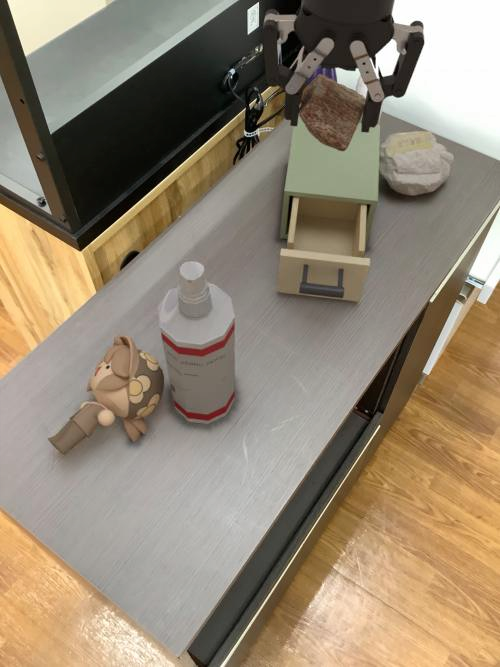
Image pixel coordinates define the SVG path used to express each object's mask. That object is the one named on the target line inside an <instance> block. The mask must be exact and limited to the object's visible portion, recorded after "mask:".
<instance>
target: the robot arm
mask: <svg viewBox="0 0 500 667" xmlns="http://www.w3.org/2000/svg"><path fill="white" fill-rule="evenodd" d="M395 1H396V0H301V4H300V6H299V8H298V10H296V12H295V14H280V12H279V11H278V10H276V9H275V8H270V9H268V10H267V11H266V12H265V15H264V21H263V25H262V26H263V27H262V42H263V43H262V44H263V55H264V56H263V58H264V70H265V71H264V72H265V82H266V85H267V86H268V87H271V88H275V87H276V88H277V87H280V88H282V89H283V90H284V93H285V95H284V98H285V99H284V110H283V116H284V119H285V120H286V121H290V124H289V126H290V127H293V126H297V124H298V117H300V114H299V108H300V107H301V97H302V86H303V85H304V84H305V83H306V80H307V79H309V78H310V77H311V76H312V74H313V73H314V72H315V70H316V69H317V68H318V66H319V65H320V66H321V68H323V69H333V68H335V69H341V70H344V71H346V72H348V71H349V72H356V70H357V69H358V71H359V74H360V75H361V77H362V79H363V82H364V84H366V86H367V89H368V90H367V95H366V100H365V105H364V110H363V115H362V124H361V132H366V133H369V129H370V127H373V128H375V126H376V125H377V124H378V119H379V115H380V110H381V106H382V102H383V103H384V100H385V99H387V98H389V97H394V98H396V99H400V98H403V97H404V96H405V95H406V94H407V91H408V88H409V85H410V82H411V80H412V77H413V75H414V72H415V70H416V67H417V65H418V62H419V59H420V57H421V54H422V52H423V49H424V46H425V28H424V27H425V26H424V23H423V22H422V21H421V20H414V21H412V22H411V23H410V24H408V25H407V24H403V23H397V22H395V20H394V17H393V11H394V5H395V3H396V2H395ZM291 32H294V33H295V35H296V36H297V38H298V40H299V41H300V43H301V45H302V47H301V49H300V50H299V52H298V54H297V57H296V58H295V60H294V61H293V63H292V64H291V66H289V67H287V66H285V65H283V64H282V62H283V61H282V44H284V43H286V42H287V40H288V35H289V34H290V33H291ZM392 40H393V41H395V43H396V52H397V53H398V58H397V60H396V62H395V66H394V69H393V71H392V74H390V75H384V73H383V71H382V69H381V66H380V62H379V56H378V53H380V52H381V51H382V49H384V48H385V47H386V46H387V45H388V44H389V43H390V42H391V41H392Z"/></svg>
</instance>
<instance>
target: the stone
mask: <svg viewBox="0 0 500 667" xmlns="http://www.w3.org/2000/svg"><path fill="white" fill-rule="evenodd" d="M365 100H366V99H365V97H363V95H360V94H358V93H357V92H356V90H355V89H352V88H350V87H347V86H346V85H345V84H342V83H339V82H338V81H337V82H336V81H335V80H333V79H331V78H328V77H326V76H324V75H321V74H319V75H318V76H317V77H316V78H315V79H314V80H313V81H312V82H311V83H310V84H309V85H306V87H305V88H303V90H302V93H301V99H300V106H299V117H301V119H302V121H303V122H304V124H305V126H306V128H307V129H308V131H309V132H310V133H311V134H312V135H313V136H314V137H315V138H316V139H317V140H318V141H319V142H320V143H322V144H324V145H326V146H329V147H332V148H334V149H337V150H339V151H345V150H346V149H347V148H348V146H349V144H350V142H351V139H352V137H353V135H354V132H355V130H356V128H357V125H358V123H359V121H360V119H361V116H362V114H363V110H364V105H365Z"/></svg>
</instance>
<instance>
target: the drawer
mask: <svg viewBox="0 0 500 667" xmlns="http://www.w3.org/2000/svg"><path fill="white" fill-rule="evenodd" d="M366 212H367V204H363V203H354V202H345V201H336V200H326V199H317V198H308V197H299V196H293V204H292V211H291V219H290V226H289V234H288V239H287V243H286V248H281V249H280V254H279V263H278V271H277V272H278V274H277V285H276V292H277V293H283V294H291V295H301V296H309V297H318V298H325V299H334V300H343V301H350V302H351V301H352V302H357V303H359V302H361V299H362V296H363V295H362V294H363V291H364V288H365V284H366V282H367V278H368V274H369V270H370V267H371V258H368V257H364V256H365V252H366V247H365V236H366Z"/></svg>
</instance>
